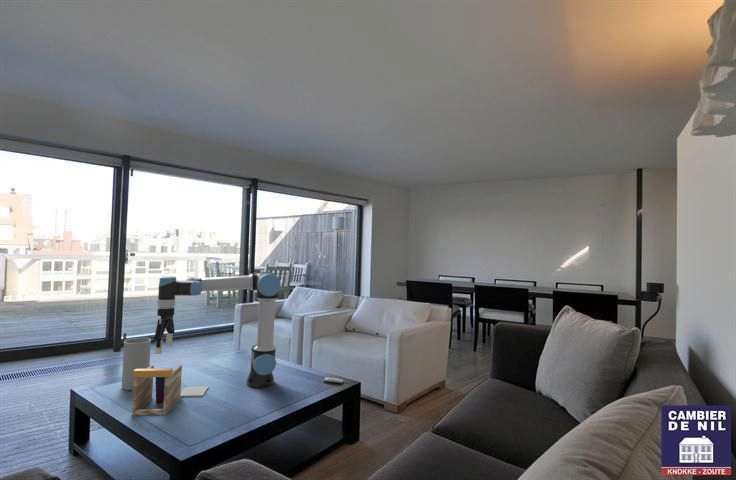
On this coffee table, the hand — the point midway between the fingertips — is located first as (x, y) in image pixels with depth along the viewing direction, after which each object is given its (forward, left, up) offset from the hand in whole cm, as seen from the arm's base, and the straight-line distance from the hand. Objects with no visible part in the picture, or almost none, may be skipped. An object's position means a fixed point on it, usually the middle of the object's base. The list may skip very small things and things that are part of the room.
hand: (163, 350), depth 189 cm
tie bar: (0, +13, -9) cm, 15 cm away
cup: (0, 0, -26) cm, 26 cm away
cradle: (0, +5, -26) cm, 26 cm away
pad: (-12, -11, -26) cm, 30 cm away
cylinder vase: (+21, -21, -26) cm, 39 cm away
